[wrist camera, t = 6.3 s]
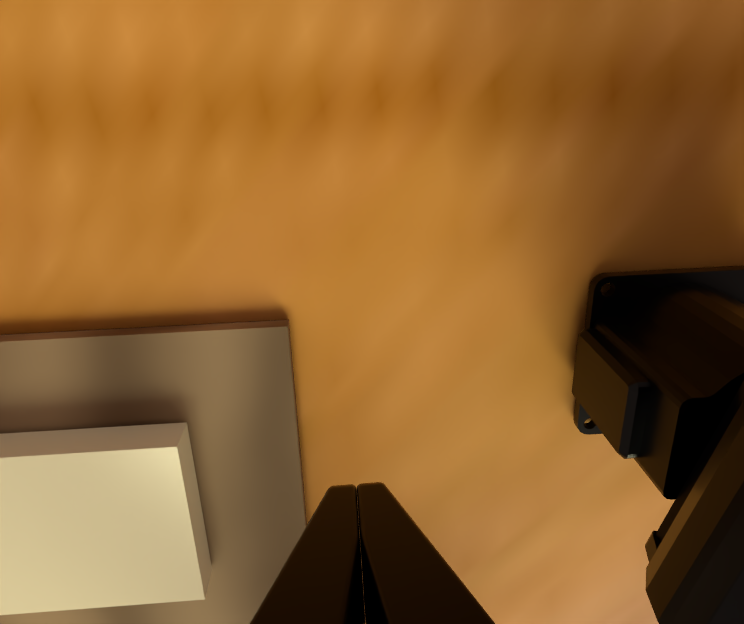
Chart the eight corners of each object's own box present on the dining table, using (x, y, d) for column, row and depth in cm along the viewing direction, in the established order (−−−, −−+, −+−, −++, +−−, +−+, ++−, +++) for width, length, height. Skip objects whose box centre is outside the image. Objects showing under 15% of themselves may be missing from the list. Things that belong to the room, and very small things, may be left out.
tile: (177, 446, 20) (-68, 462, 20) (204, 599, 23) (-11, 616, 22) (187, 420, 21) (-40, 433, 21) (212, 566, 24) (11, 580, 24)
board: (288, 319, 21) (287, 326, 20) (314, 608, 26) (314, 620, 26) (-123, 341, 20) (-135, 348, 20) (-11, 634, 25) (-18, 646, 25)
